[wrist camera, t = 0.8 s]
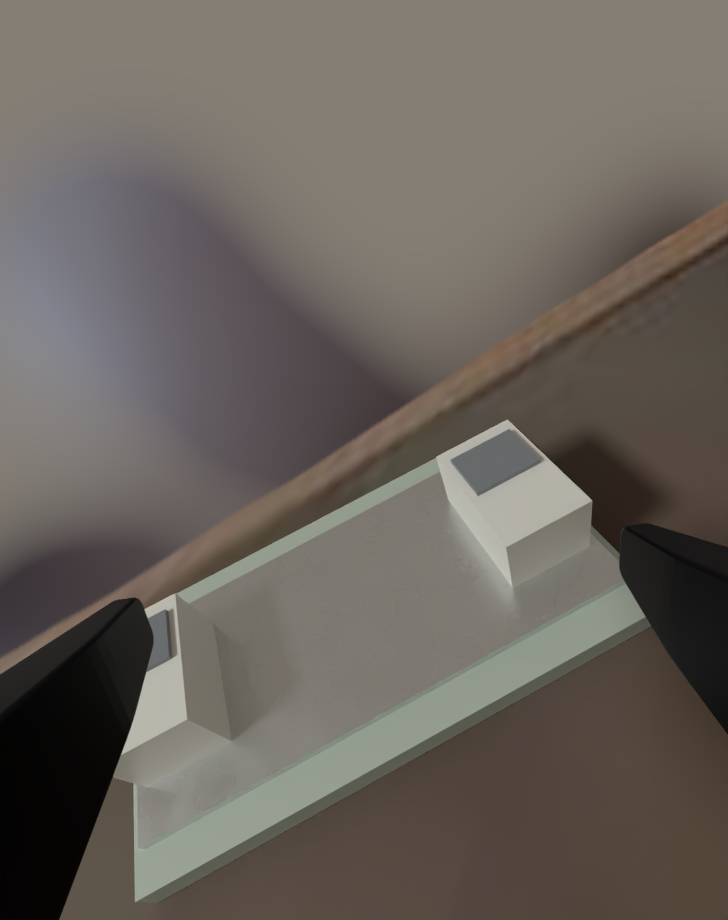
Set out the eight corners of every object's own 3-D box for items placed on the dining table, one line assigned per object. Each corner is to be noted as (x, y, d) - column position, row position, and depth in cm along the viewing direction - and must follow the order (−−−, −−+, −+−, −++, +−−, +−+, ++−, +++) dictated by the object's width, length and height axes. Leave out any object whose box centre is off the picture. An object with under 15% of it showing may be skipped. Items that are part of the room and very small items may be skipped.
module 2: (512, 465, 26) (507, 415, 23) (589, 546, 22) (592, 497, 19) (448, 499, 26) (434, 453, 23) (512, 588, 21) (505, 544, 19)
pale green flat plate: (501, 445, 28) (500, 439, 27) (631, 580, 21) (631, 575, 20) (139, 635, 27) (134, 632, 26) (145, 849, 19) (138, 848, 19)
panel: (496, 444, 30) (494, 427, 29) (663, 619, 21) (668, 603, 20) (147, 627, 29) (131, 617, 28) (158, 902, 19) (135, 902, 18)
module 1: (213, 624, 25) (171, 590, 22) (231, 741, 21) (183, 717, 18) (143, 660, 25) (93, 631, 22) (147, 787, 20) (86, 770, 18)
